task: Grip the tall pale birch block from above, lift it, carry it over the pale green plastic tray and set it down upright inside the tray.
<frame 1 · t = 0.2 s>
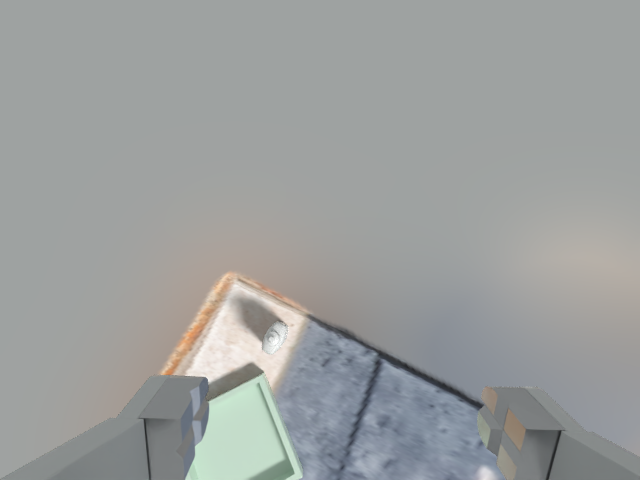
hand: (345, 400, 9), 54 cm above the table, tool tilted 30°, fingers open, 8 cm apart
tray: (237, 442, 55), on the table
eye dropper bottle: (277, 336, 61), on the table
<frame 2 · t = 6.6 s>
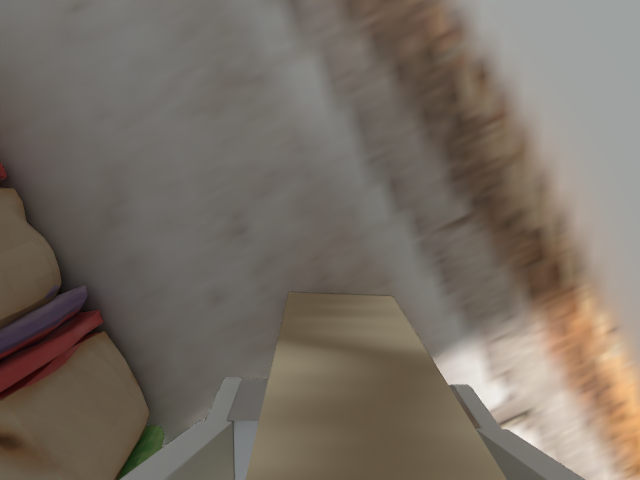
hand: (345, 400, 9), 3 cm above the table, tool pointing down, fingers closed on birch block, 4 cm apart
skewer: (41, 302, 12), on the table
birch block: (337, 341, 12), on the table, touching gripper
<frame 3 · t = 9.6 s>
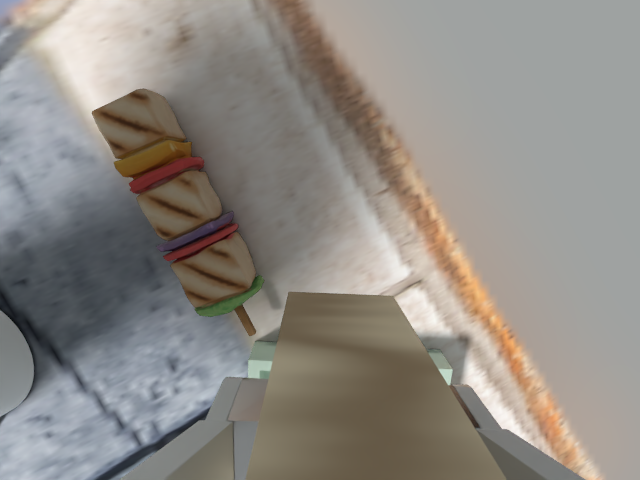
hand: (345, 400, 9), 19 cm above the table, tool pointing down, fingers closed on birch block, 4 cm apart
tray: (341, 422, 31), on the table
skewer: (207, 223, 27), on the table
birch block: (337, 341, 12), point 16 cm above the table, touching gripper
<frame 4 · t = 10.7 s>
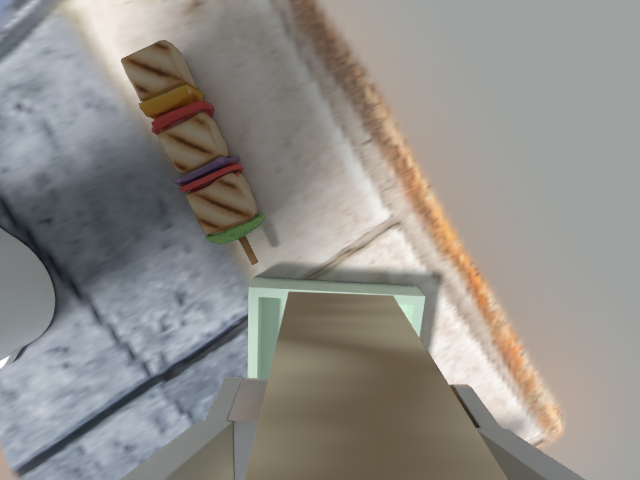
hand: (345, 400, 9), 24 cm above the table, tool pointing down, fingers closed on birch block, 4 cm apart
tray: (330, 353, 35), on the table
skewer: (215, 168, 31), on the table
birch block: (337, 340, 12), point 21 cm above the table, touching gripper
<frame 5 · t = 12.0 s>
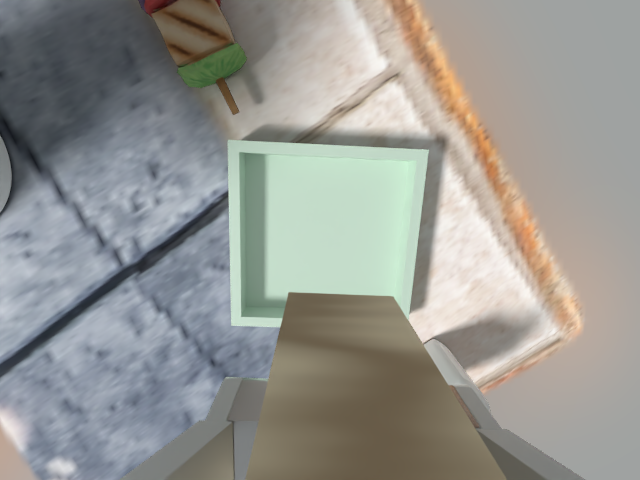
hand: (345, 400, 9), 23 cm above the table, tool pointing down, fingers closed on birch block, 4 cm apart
tray: (323, 236, 32), on the table
skewer: (189, 7, 27), on the table
eye dropper bottle: (436, 357, 35), on the table
birch block: (337, 341, 12), point 20 cm above the table, touching gripper
when the fingers open (6 cm above the table, at t = 15.0 s): birch block drops 2 cm, resting on tray.
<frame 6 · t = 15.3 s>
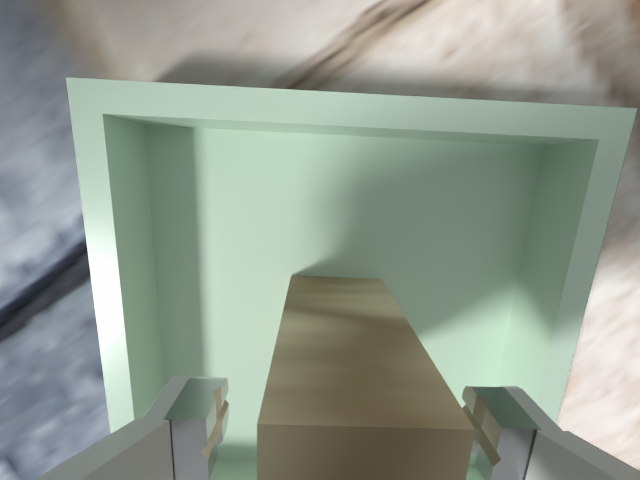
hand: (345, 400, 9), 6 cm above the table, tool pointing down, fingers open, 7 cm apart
tray: (335, 313, 14), on the table
birch block: (333, 318, 14), point 1 cm above the table, touching tray
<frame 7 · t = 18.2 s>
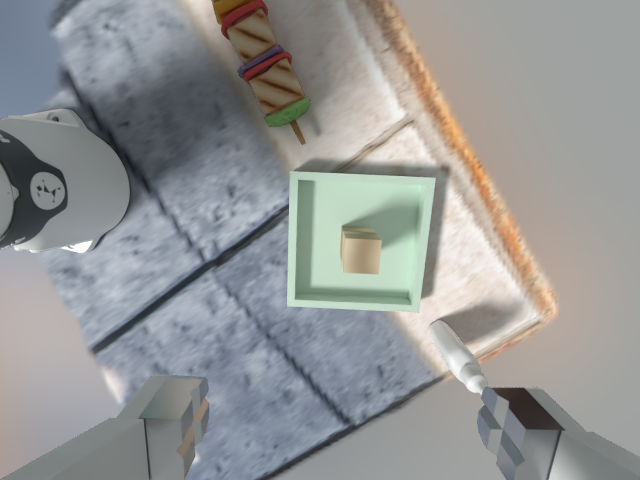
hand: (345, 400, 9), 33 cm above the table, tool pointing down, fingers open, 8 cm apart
tray: (355, 240, 42), on the table
skewer: (267, 68, 38), on the table
eye dropper bottle: (441, 334, 45), on the table
birch block: (355, 240, 41), point 1 cm above the table, touching tray
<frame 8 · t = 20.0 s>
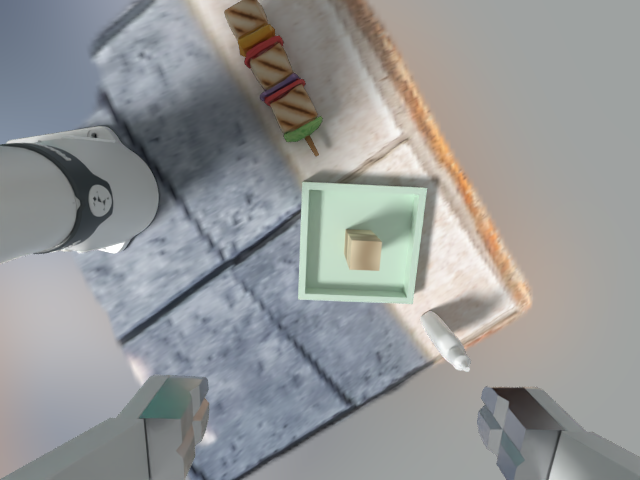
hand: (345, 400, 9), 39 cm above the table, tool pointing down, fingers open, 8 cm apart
tray: (357, 241, 48), on the table
skewer: (282, 91, 43), on the table
eye dropper bottle: (432, 324, 52), on the table
birch block: (357, 242, 47), point 1 cm above the table, touching tray
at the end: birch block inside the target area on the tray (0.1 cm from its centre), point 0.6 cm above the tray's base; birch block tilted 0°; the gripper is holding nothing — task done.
